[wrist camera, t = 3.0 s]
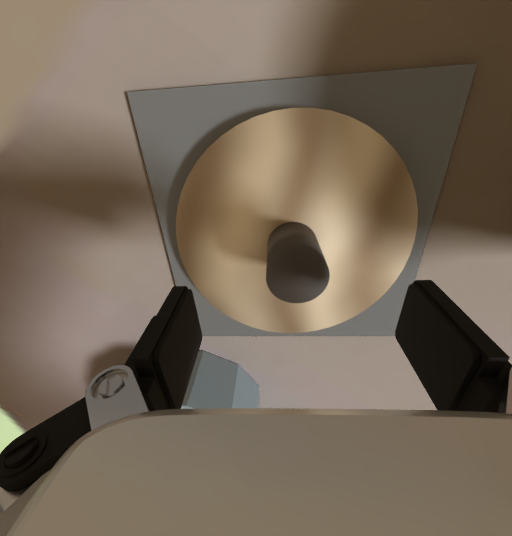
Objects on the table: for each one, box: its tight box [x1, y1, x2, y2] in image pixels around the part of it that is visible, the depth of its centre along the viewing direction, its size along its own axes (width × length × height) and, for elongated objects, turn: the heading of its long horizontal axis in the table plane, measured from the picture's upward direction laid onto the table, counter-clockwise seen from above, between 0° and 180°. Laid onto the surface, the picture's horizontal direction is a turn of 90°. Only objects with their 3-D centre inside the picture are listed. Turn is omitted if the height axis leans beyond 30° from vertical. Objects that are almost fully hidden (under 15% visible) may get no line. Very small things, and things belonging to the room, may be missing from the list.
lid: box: [176, 108, 418, 333], centre depth 17 cm, size 17×17×6 cm
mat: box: [127, 63, 478, 336], centre depth 20 cm, size 20×20×1 cm
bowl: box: [181, 351, 260, 409], centre depth 28 cm, size 15×15×6 cm
